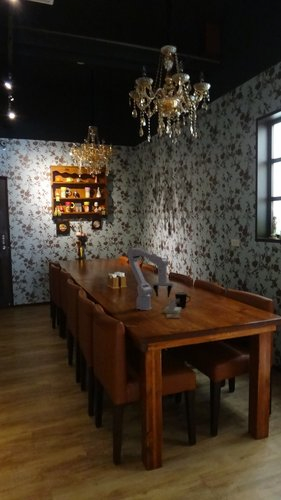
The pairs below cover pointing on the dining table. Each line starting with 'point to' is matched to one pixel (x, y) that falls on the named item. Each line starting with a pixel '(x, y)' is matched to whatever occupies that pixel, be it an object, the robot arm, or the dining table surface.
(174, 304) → the block
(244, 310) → the dining table surface
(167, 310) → the grey green square tray
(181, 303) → the coffee mug
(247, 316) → the dining table surface
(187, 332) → the dining table surface
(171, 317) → the plate
